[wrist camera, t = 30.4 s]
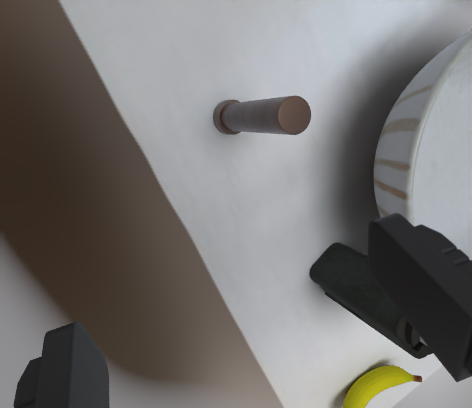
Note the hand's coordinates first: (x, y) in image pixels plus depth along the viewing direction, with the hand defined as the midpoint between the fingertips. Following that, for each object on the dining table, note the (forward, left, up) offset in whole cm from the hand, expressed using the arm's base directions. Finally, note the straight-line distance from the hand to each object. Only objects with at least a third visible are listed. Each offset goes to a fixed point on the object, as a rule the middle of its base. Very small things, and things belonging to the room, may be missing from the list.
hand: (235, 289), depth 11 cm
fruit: (+37, -4, -25) cm, 45 cm away
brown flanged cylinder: (+4, +9, -25) cm, 27 cm away
